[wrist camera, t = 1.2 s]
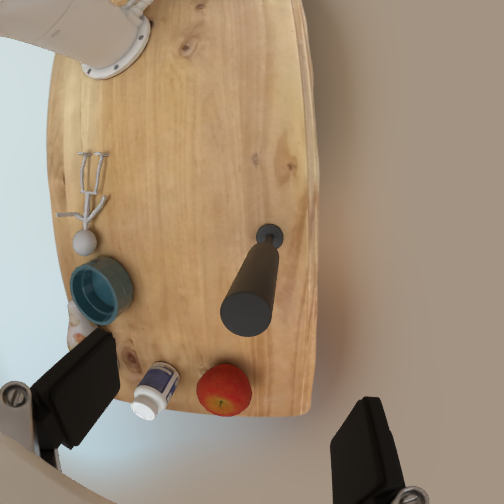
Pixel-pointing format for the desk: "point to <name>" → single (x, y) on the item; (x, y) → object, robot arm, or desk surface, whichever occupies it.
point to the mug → (77, 326)
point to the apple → (224, 390)
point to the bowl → (101, 290)
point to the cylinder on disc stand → (254, 286)
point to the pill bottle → (155, 390)
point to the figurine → (86, 213)
